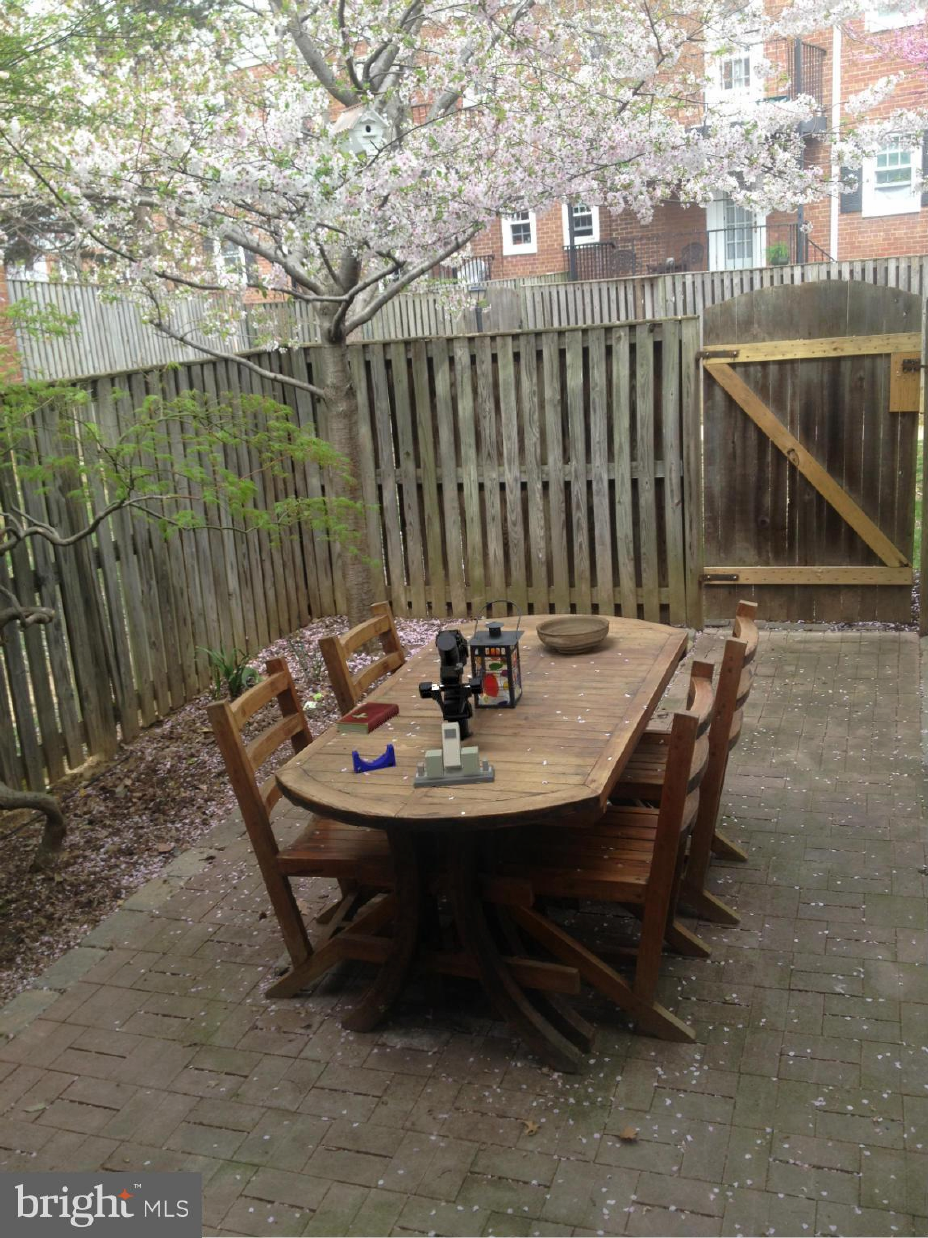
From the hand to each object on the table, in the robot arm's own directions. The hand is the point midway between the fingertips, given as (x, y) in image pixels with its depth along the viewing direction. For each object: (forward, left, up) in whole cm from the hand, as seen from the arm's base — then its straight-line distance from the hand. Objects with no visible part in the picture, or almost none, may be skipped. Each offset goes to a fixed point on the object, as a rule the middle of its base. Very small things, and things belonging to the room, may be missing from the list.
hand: (452, 713), depth 311 cm
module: (+14, +9, -10) cm, 20 cm away
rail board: (+14, +9, -14) cm, 21 cm away
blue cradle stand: (+15, -19, -14) cm, 28 cm away
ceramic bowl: (-116, -23, -14) cm, 119 cm away
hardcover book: (-17, -47, -14) cm, 52 cm away
